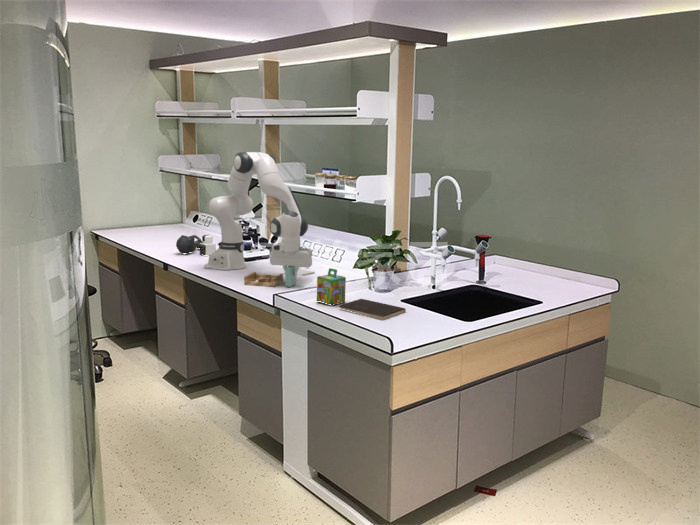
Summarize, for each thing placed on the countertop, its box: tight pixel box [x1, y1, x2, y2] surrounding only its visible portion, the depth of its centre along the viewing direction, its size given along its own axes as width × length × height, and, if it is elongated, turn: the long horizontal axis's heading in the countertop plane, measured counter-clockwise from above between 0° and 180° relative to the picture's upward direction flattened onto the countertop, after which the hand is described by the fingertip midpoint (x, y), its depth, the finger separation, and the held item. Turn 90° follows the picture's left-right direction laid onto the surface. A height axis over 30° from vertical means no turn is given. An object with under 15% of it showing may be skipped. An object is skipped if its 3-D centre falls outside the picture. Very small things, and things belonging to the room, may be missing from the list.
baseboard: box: [280, 267, 315, 277], centre depth 320 cm, size 31×3×12 cm
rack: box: [243, 271, 284, 288], centre depth 299 cm, size 15×11×5 cm
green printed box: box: [316, 268, 347, 306], centre depth 268 cm, size 9×9×15 cm
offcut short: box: [258, 277, 271, 282], centre depth 297 cm, size 5×4×2 cm
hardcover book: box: [338, 298, 406, 321], centre depth 258 cm, size 16×23×2 cm
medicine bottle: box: [199, 234, 217, 256], centre depth 373 cm, size 7×7×12 cm
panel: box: [284, 266, 298, 288], centre depth 294 cm, size 8×2×9 cm, turn 164°
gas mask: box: [175, 234, 203, 254], centre depth 381 cm, size 14×9×25 cm
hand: (291, 275), depth 294 cm, fingers closed on panel, 2 cm apart
